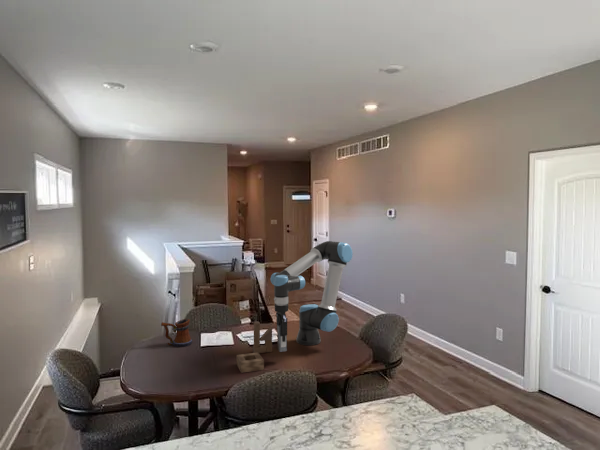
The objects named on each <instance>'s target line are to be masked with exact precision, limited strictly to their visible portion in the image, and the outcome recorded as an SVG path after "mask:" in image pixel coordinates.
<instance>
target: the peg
mask: <svg viewBox="0 0 600 450" xmlns="http://www.w3.org/2000/svg"><path fill="white" fill-rule="evenodd" d="M276 333H277V337H276V338H277V340H276V341H277V351H278V352H280V353H282V352H287V351H288V345H287V341H288V340H287V337H288V334H287V335H286V347H281V336H280V335H281V324H280V325H277V324H276Z"/></svg>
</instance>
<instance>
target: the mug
mask: <svg viewBox="0 0 600 450" xmlns="http://www.w3.org/2000/svg"><path fill="white" fill-rule="evenodd" d="M190 322H191V319H190V318H184V319H183V318H182V319H180V320H177V321H176V322H175V323H174V324H173V323H168V322H163V321H162V322H161V324H160V326H161V327H164V330H165V338H166V339H168V340H169V342H167V343H166V344H167V345H168V346H172V345H173V346H174V347H177V348H178V347H179V348H180V347H181V348H182V347H188V346H191V344H192V343H193V340H192V338H191V335H190V331H189V329H190V328H189V326H190ZM169 326H170V327H172V328H171V329H172V331H173V333H176V335H175V337H174V339H173V338H172V337H171V336H170V335H169V334H170V333H169V331H170V330H169V328H168V327H169Z"/></svg>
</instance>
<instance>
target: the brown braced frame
mask: <svg viewBox="0 0 600 450" xmlns="http://www.w3.org/2000/svg"><path fill="white" fill-rule="evenodd" d="M261 342H264V344H261ZM272 352H273V328H272V327H271V326H269V327H268V328H267V329H266V331H264V333H263V334H262V335H261V323H260V321H254V322H253V345H252V353H259V354H264V353H272Z"/></svg>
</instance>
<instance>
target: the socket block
mask: <svg viewBox="0 0 600 450" xmlns="http://www.w3.org/2000/svg"><path fill="white" fill-rule="evenodd" d="M236 366H237V368H238V369H239V371H240V373H241V374H242V373H248V372H256V371H264V370H265V360H264V358H263V357H262V355H261V353H253V352H252V353H242V354H236Z"/></svg>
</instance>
